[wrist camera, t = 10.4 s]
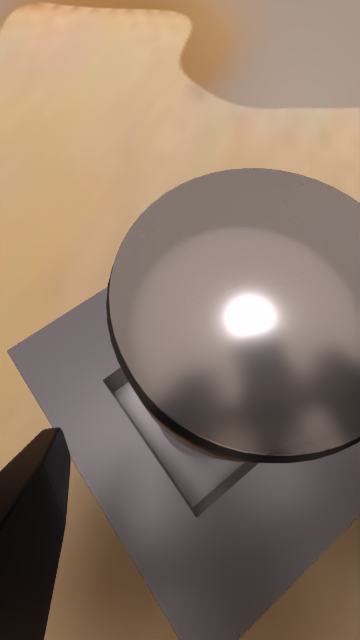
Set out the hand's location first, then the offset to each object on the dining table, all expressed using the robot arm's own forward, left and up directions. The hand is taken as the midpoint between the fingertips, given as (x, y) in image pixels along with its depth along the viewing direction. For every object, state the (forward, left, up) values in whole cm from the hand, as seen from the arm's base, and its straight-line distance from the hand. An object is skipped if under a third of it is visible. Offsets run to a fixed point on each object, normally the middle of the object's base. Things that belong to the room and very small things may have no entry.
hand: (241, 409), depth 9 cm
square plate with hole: (+1, -1, -10) cm, 10 cm away
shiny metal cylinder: (+1, -1, -9) cm, 9 cm away
